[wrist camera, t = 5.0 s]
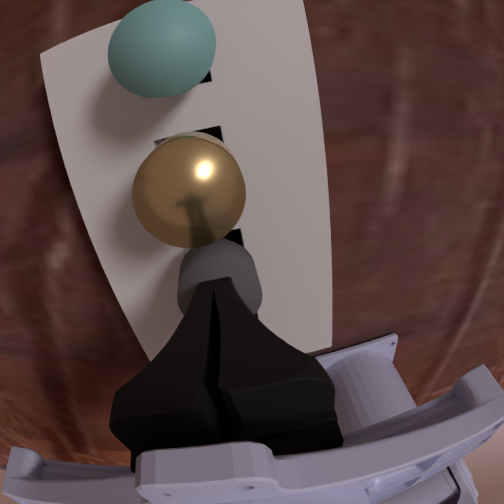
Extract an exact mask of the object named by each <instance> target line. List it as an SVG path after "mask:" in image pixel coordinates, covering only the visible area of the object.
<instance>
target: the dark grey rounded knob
mask: <svg viewBox="0 0 504 504" xmlns="http://www.w3.org/2000/svg"><path fill="white" fill-rule="evenodd" d="M228 276H229V277H230V278H232V281H233V284H234V286H235V289H236V290H237V292H238V294H239V295H240V297H241V298H242V300H243V301H244V303H245V304H246V305H247V307H248V308H249V309H250V310H251V311H252V313H253V314H254V315H255V314H256V313H257V311H258V310H259V308H260V305H261V302H262V288H261V285H260V281H259V277H258V274H257V270H256V267H255V263H254V260H253V258H252V256H251V255H250V253H249V252H248V251H247V250H246V249H245V248H244V247H242V246H241V245H239V244H237V243H235V242H233V241H229V240H227V239H226V238H224V237H223V238H221V239H220V240H218V241H216V242H214V243H212V244H210V245H207V246H203V247H198V248H191V249H190V250H189V251H188V252H187V254H186V255H185V256H184V258H183V260H182V262H181V266H180V272H179V281H178V291H177V302H178V306H179V309H180V311H181V312H182V314H183V315H185V313H186V311H187V309H188V307H189V304H190V302H191V300H192V298H193V296H194V293H195V291H196V289H197V286H198V284H199V283H200V282H204V281H209V280H214V279H219V278H223V277H228Z"/></svg>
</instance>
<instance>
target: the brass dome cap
mask: <svg viewBox="0 0 504 504" xmlns="http://www.w3.org/2000/svg"><path fill="white" fill-rule="evenodd" d="M245 201H246V186H245V181H244V178H243V175H242V173H241V170H240V168H239V166H238V163H237V161H236V159H235V157H234V155H233V153H232V152H231V150H230V149H229V148H228V147H227V146H226V145H225V144H224V143H223V142H222V141H220V140H219V139H217V138H215V137H214V136H211V135H209V134H206V133H202V132H183V133H178V134H175V135H173V136H171V137H168V138H167V139H165V140H164V141H162V142H161V143H160V144H159V145H157V147H156V148H155V149H154V150H153V151H152V152H151V153H150V154H149V155H148V157H147V158H146V159H145V160H144V161H143V162H142V164H141V165H140V167H139V168H138V171H137V173H136V175H135V178H134V181H133V186H132V203H133V207H134V211H135V213H136V216H137V218H138V220H139V221H140V223H141V224H142V226H143V227H144V228H145V229H146V230H147V231H148V232H149V233H150V234H151V235H152V236H153V237H155V238H156V239H158V240H159V241H161V242H163V243H165V244H168V245H171V246H174V247H179V248H198V247H203V246H207V245H210V244H212V243H214V242H216V241H218V240H220V239H221V238H223V237H224V236H226V235H227V234H228V233H229V232H230V231H231V230H232V229H233V228H234V227H235V225H236V224H237V222H238V221H239V219H240V217H241V215H242V213H243V210H244V206H245Z"/></svg>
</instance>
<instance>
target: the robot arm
mask: <svg viewBox="0 0 504 504" xmlns="http://www.w3.org/2000/svg"><path fill="white" fill-rule="evenodd" d="M397 341H398V336H397V335H396V334H395V333H394V334H390V335H387V336H384V337H381V338H378V339H375V340H372V341H369V342H366V343H362V344H359V345H356V346H352V347H349V348H346V349H342V350H339V351H335V352H331V353H328V354H324V355H320V356H317V357H312V356H310V355H308V354H306V353H304V352H302V351H300V350H298V349H296V348H295V347H293V346H291V345H290V344H288V343H287V342H285V341H284V340H283V339H281V338H280V337H278V336H277V335H276V334H274V333H273V332H272V331H271V330H270V329H268V328H267V327H266V326H265V325H264V324H263V323H262V322H261V321H260V320H259V319H258V318H257V317H256V316H255V315H254V314H253V313H252V311H251V310H250V309H249V308H248V307H247V305H246V304H245V303H244V301H243V300H242V298H241V297H240V295H239V294H238V292H237V290H236V289H235V286H234V284H233V281H232V278H230V277H229V276H228V277H223V278H219V279H214V280H209V281H204V282H200V283H199V284H198V286H197V289H196V291H195V293H194V296H193V298H192V300H191V302H190V304H189V307H188V309H187V311H186V313H185V315H184V316H183V318H182V320H181V322H180V323H179V325H178V327H177V328H176V330H175V332H174V333H173V335H172V336H171V338H170V339H169V341H168V342H167V343H166V345H165V346H164V347H163V348H162V350H161V351H160V352H159V353H158V354H157V355H156V356H155V358H154V359H153V360H152V361H151V362H150V363H149V364H148V365H147V366H146V367H145V368H144V369H143V370H142V371H141V372H140V373H138V374H137V375H136V376H135V377H134V378H133V379H131V380H130V381H129V382H127V383H126V384H125V385H124V386H122V387H121V388H120V389H118V390H117V391H116V393H115V396H114V400H113V404H112V409H111V415H110V422H109V427H110V431H111V432H112V433H113V434H114V436H115V437H116V438H117V439H118V440H120V441H121V442H122V443H123V444H124V445H125V446H126V447H127V448H128V449H129V450H130V451H131V465H130V466H108V465H92V464H80V463H71V462H62V461H55V460H48V459H43V457H42V456H40V455H39V454H38V453H37V452H35V451H33V450H31V449H28V448H22V447H17V446H12V448H11V452H10V455H9V459H8V463H7V468H6V472H5V477H4V481H3V486H2V493H3V494H4V495H6V496H8V497H10V498H11V499H13V500H15V501H16V502H18V503H20V504H477V503H478V501H477V497H478V495H479V494H478V491H477V489H476V487H475V485H474V483H473V481H472V480H473V477H472V475H471V473H470V471H469V469H468V467H467V465H466V463H465V461H464V459H463V457H464V456H465V455H467V454H469V453H470V452H472V451H473V450H475V449H477V448H478V447H480V446H481V445H483V444H484V443H486V442H487V441H488V440H489V439H490V438H491V437H492V436H493V435H494V434H495V433H496V432H497V430H498V429H499V428H500V427H501V426H502V425H503V424H504V392H503V390H502V389H501V387H500V386H499V384H498V383H497V382H496V380H495V379H494V377H493V376H492V375H491V373H490V372H489V370H488V369H487V368H486V366H485V365H484V364H482V365H480V366H478V367H476V368H475V369H473V370H471V371H469V372H467V373H465V374H464V375H462V376H461V377H460V378H459V379H458V380H457V381H456V382H455V384H454V386H453V389H452V390H451V391H449V392H447V393H446V394H444V395H441V396H439V397H437V398H435V399H433V400H431V401H429V402H427V403H425V404H422V405H420V406H418V407H417V406H416V404H415V402H414V401H413V399H412V397H411V395H410V393H409V391H408V390H407V388H406V386H405V384H404V383H403V381H402V379H401V377H400V376H399V374H398V372H397V370H396V369H395V367H394V365H393V363H392V362H393V358H394V354H395V349H396V345H397Z"/></svg>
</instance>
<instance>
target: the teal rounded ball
mask: <svg viewBox="0 0 504 504" xmlns="http://www.w3.org/2000/svg"><path fill="white" fill-rule="evenodd" d="M215 49H216V35H215V31H214V28H213V25H212V23H211V21H210V20H209V18H208V17H207V16H206V15H205V13H204V12H202V11H201V10H200V9H199V8H197V7H196V6H194V5H192V4H190V3H188V2H185V1H181V0H155V1H151V2H148V3H145V4H143V5H141V6H139V7H137V8H135V9H134V10H132V11H131V12H130V13H128V14H127V15H126V16H125V17H124V18H123V19H122V20H121V21H120V23H119V24H118V25H117V27H116V28H115V30H114V32H113V34H112V36H111V39H110V42H109V46H108V63H109V67H110V70H111V72H112V74H113V76H114V78H115V79H116V80H117V82H118V83H119V84H120V85H121V86H122V87H123V88H125V89H126V90H128V91H129V92H131V93H134V94H136V95H139V96H142V97H148V98H162V97H172V96H177V95H180V94H183V93H185V92H187V91H189V90H191V89H193V88H194V87H195V86H197V85H198V84H199V83H200V82H201V81H202V80H203V79H204V78H205V77H206V75H207V74H208V72H209V70H210V68H211V66H212V63H213V60H214V55H215Z"/></svg>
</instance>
